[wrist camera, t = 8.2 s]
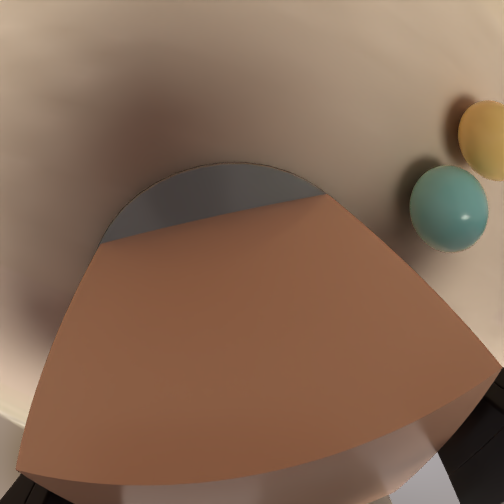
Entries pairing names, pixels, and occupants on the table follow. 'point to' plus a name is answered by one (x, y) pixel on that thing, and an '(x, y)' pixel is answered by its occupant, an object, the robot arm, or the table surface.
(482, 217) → the marble teal
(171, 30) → the table surface
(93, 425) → the peach beveled cube
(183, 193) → the coaster
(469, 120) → the marble amber
